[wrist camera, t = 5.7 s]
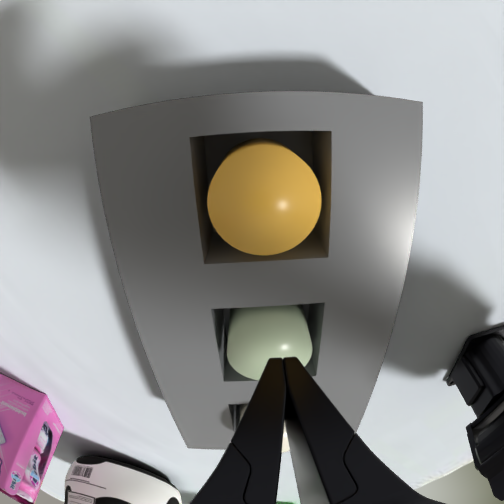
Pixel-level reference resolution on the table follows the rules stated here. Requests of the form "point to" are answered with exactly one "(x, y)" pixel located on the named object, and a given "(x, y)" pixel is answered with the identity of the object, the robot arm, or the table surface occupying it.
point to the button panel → (260, 266)
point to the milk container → (115, 484)
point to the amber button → (263, 198)
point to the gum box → (25, 439)
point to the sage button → (266, 337)
